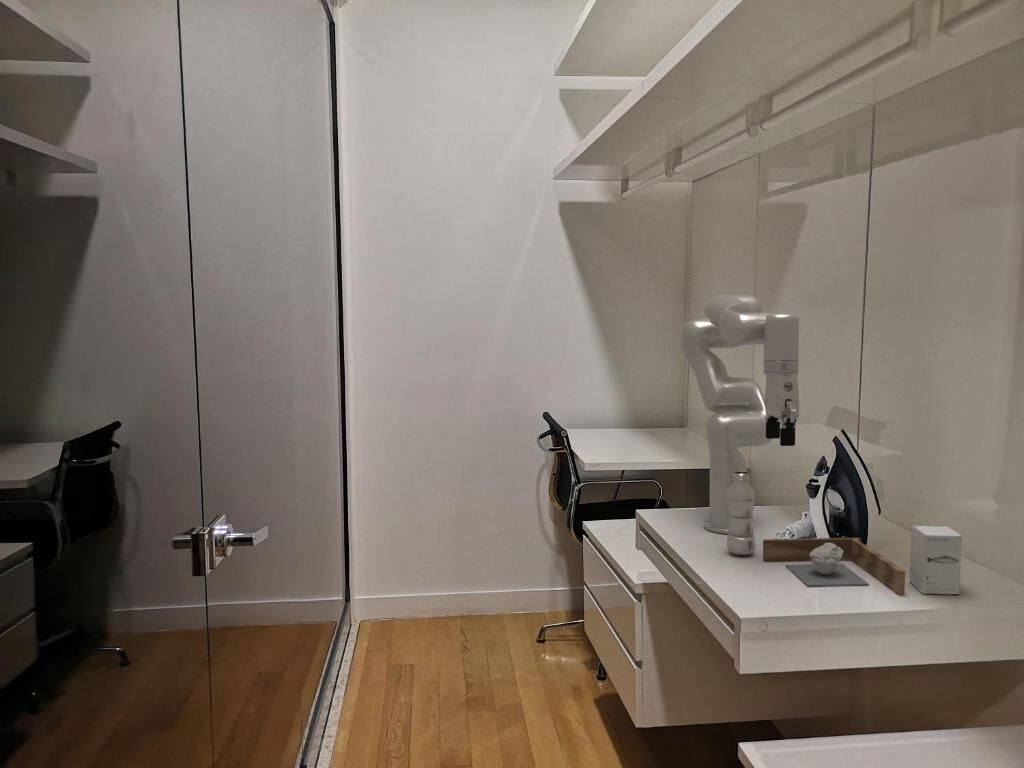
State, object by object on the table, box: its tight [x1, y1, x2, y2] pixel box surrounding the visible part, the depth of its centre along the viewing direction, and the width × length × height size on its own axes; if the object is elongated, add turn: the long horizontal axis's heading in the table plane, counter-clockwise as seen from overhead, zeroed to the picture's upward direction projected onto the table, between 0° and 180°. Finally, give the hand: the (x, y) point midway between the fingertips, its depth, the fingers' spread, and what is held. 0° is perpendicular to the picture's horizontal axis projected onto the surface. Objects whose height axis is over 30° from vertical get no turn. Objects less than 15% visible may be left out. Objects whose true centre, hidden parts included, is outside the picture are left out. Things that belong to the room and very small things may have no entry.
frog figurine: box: [810, 543, 843, 575], centre depth 170 cm, size 6×7×7 cm
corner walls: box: [762, 537, 906, 596], centre depth 170 cm, size 23×22×5 cm
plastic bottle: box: [726, 471, 756, 556], centre depth 185 cm, size 6×7×20 cm
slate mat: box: [785, 563, 870, 588], centre depth 170 cm, size 13×13×1 cm
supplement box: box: [909, 525, 963, 595], centre depth 161 cm, size 7×7×13 cm
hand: (779, 441), depth 178 cm, fingers open, 9 cm apart
